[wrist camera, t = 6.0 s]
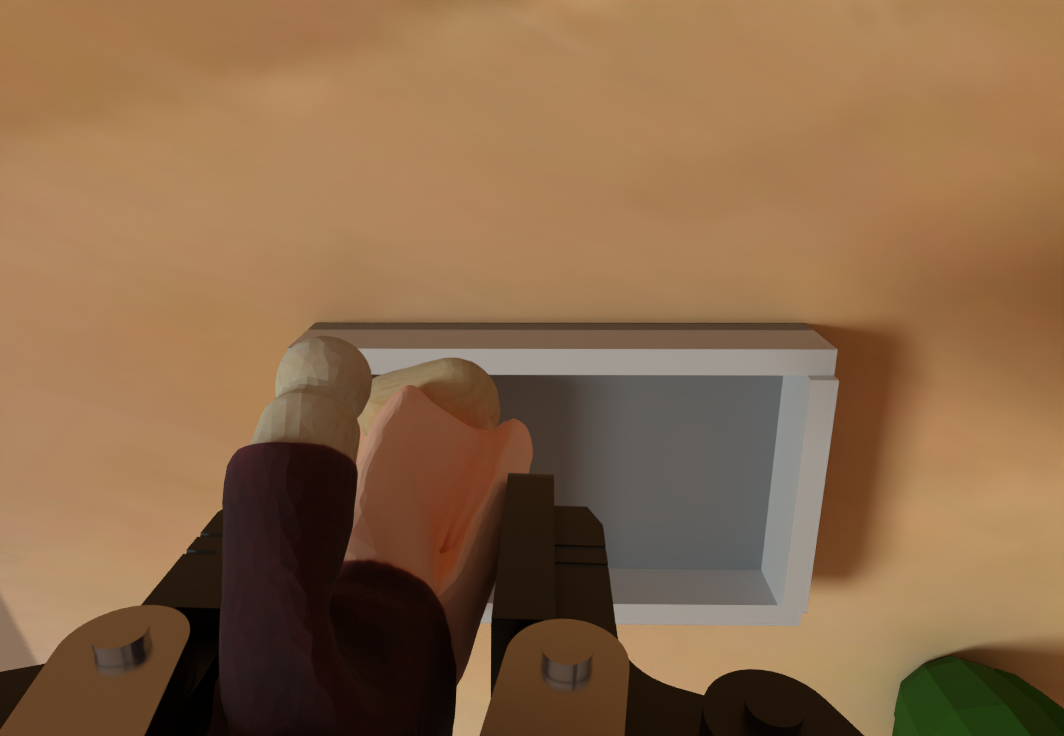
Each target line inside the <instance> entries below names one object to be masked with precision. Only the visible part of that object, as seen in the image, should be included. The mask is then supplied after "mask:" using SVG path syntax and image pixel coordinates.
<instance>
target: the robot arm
mask: <svg viewBox="0 0 1064 736" xmlns="http://www.w3.org/2000/svg"><path fill="white" fill-rule="evenodd" d="M222 542H223V509H222V510H221V511H219V512H217V514H216V515H215V516H214V517H213V518H212V520H211V521H210V522H209V523H208V525H207V526H206V527H205V528H204V529H203V531H202V532H201V536H200V537H197V538H196V539H195V540H194V542H193V543H192V544H191V545H190V546H189V548H188V549H187V553H186V554H183V555H182V556H181V557H180V559H179V560H178V561H177V562H176V563H175V565H174V566H173V567H172V568H171V569H170V571H169V572H168V573H167V574H166V576H165V577H164V578H163V579H162V580H161V582H160V583H159V584H158V585H157V586H156V588H155V589H154V590H153V591H152V592H151V594H150V595H149V596H148V597H147V599H146V600H145V601H144V602H143V603H142V605H141V606H133V607H128V608H123V609H119V610H116V611H112V612H109V613H107V614H104V615H102V616H99V617H97V618H95V619H93V620H91V621H89V622H87V623H85V624H84V625H82V626H80V627H79V628H77V629H76V630H74V631H73V632H72V633H70V634H69V635H68V636H67V637H66V638H65V639H64V640H63V641H62V642H61V643H60V644H59V645H58V647H57V648H56V649H55V651H54V652H53V653H52V655H51V656H50V658H49V659H48V661H47V662H46V663H45V664H41V665H36V666H30V667H25V668H19V669H14V670H8V671H3V672H0V736H207V734H208V730H209V726H210V722H211V718H212V711H213V702H214V700H213V694H214V688H215V683H216V681H217V679H218V677H219V629H220V609H221V600H222V571H223V560H222ZM480 736H864V735H863V734H862V733H861V732H860V731H859V730H857V729H856V728H855V727H854V726H853V725H852V724H851V723H850V722H849V721H848V720H847V719H846V718H845V717H844V716H843V715H841V714H840V713H839V712H838V711H837V710H836V709H835V708H834V707H833V706H832V705H831V704H830V703H829V702H828V701H827V700H826V699H824V698H823V697H822V696H821V695H820V694H818V693H817V692H816V691H815V690H813V689H811V688H810V687H808V686H807V685H805V684H803V683H801V682H799V681H798V680H796V679H793V678H791V677H788V676H786V675H783V674H779V673H775V672H772V671H765V670H754V669H748V670H738V671H734V672H730V673H727V674H725V675H723V676H721V677H719V678H718V679H716V680H715V681H714V682H713V683H712V684H711V685H710V686H709V687H708V689H707V691H706V693H705V695H700V694H697V693H693V692H690V691H686V690H683V689H679V688H676V687H673V686H670V685H667V684H664V683H662V682H660V681H658V680H656V679H654V678H652V677H650V676H649V675H647V674H645V673H644V672H642V671H641V670H640V669H639V668H637V667H636V666H635V665H634V664H633V663H632V662H631V661H630V660H629V658H628V655H627V652H626V650H625V649H624V647H623V645H622V644H621V643H620V642H619V640H618V637H617V630H616V622H615V614H614V606H613V599H612V591H611V583H610V575H609V568H608V560H607V552H606V544H605V537H604V529H603V524H602V523H601V522H600V521H599V520H598V519H597V518H596V516H595V515H594V514H593V513H592V512H591V511H590V509H589V508H588V507H583V506H554V474H531V473H508V478H507V486H506V495H505V504H504V512H503V521H502V530H501V539H500V547H499V556H498V565H497V573H496V582H495V591H494V600H493V608H492V617H491V700H490V704H489V707H488V710H487V713H486V717H485V720H484V723H483V726H482V730H481V733H480Z"/></svg>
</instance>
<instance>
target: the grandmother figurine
mask: <svg viewBox="0 0 1064 736" xmlns="http://www.w3.org/2000/svg"><path fill="white" fill-rule="evenodd" d="M275 393H276V399H275V400H273V401H272V402H271V403H269V404H268V405H267V406H266V408H265V409H264V411H263V413H262V415H261V417H260V420H259V423H258V425H257V428H256V431H255V433H254V436H253V439H252V441H251V443H250V445H248V446H245V447H243V448H241V449H238V450H237V451H236V452H235V454H234V455H233V456H232V458H231V460H230V462H229V463H228V465H227V470H226V476H225V481H224V490H223V501H222V505H223V542H222V560H223V571H222V600H221V609H220V629H219V677H218V679H217V681H216V683H215V688H214V694H213V700H214V702H213V711H212V718H211V722H210V726H209V730H208V734H207V736H452V733H453V724H454V719H455V706H456V686H457V685H458V683H459V681H460V679H461V678H462V676H463V674H464V671H465V669H466V666H467V664H468V661H469V658H470V655H471V651H472V648H473V645H474V641H475V638H476V634H477V631H478V628H479V625H480V622H481V620H482V617H483V614H484V611H485V609H486V606H487V603H488V601H489V598H490V595H491V592H492V590H493V587H494V584H495V582H496V573H497V565H498V556H499V547H500V539H501V530H502V521H503V512H504V504H505V495H506V486H507V478H508V473H529V470H530V464H531V461H532V458H533V447H532V441H531V437H530V434H529V431H528V429H527V427H526V426H525V424H523V423H522V422H521V421H519V420H517V419H514V418H513V419H511V420H509V421H505V422H503V423H502V424H500V425H499V426H498V423H499V417H500V403H499V397H498V391H497V389H496V386H495V384H494V382H493V380H492V378H491V377H490V376H489V375H488V374H487V373H486V371H485V370H483V369H482V368H481V367H480V366H479V365H477V364H475V363H474V362H472V361H468V360H465V359H461V358H442V359H438V360H433V361H429V362H425V363H422V364H418V365H415V366H412V367H408V368H404V369H399V370H395V371H391V372H388V373H385V374H382V375H379V376H377V377H375V378H373V379H372V374H371V369H370V367H369V364H368V362H367V360H366V358H365V357H364V355H363V354H362V353H361V352H360V351H359V350H358V349H357V348H356V347H355V346H354V345H352V344H351V343H349V342H347V341H344V340H342V339H340V338H336V337H332V336H316V337H311V338H308V339H306V340H304V341H301V342H299V343H297V344H295V345H294V346H293V347H292V348H291V349H289V350H288V351H287V352H286V353H285V355H284V357H283V359H282V361H281V363H280V365H279V368H278V372H277V375H276V381H275ZM358 417H359V421H360V425H361V428H362V430H363V432H364V434H365V436H366V439H365V442H364V444H363V447H362V451H361V453H360V455H359V458H358V460H357V455H358V449H359V441H360V433H361V432H360V426H359V423H358V420H357V418H358ZM356 461H357V462H356Z"/></svg>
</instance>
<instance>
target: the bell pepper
mask: <svg viewBox="0 0 1064 736" xmlns="http://www.w3.org/2000/svg"><path fill="white" fill-rule="evenodd" d="M894 716H895V722H894V728H893V734H892V736H1064V709H1063V708H1062V707H1061V706H1059V705H1058V704H1057V703H1055V702H1054V701H1053V700H1051V699H1050V698H1049V697H1047V696H1046V695H1045V694H1043V693H1042V692H1041V691H1039V690H1037V689H1036V688H1034V687H1033V686H1031V685H1030V684H1028V683H1027V682H1025V681H1024V680H1022V679H1021V678H1019V677H1018V676H1016V675H1015V674H1011V673H1008V672H1005V671H1001V670H998V669H995V670H992V669H991V668H990V667H987V666H984V665H980V664H977V663H973V662H970V661H966V660H963V659H959V658H956V657H952V656H948V657H945V658H942V659H938V660H935V661H932V662H929V663H926V664H923V665H922V666H920V667H919V668H918V669H917V670H915V671H914V672H913V673H912V674H910V675H909V676H908V677H907V678H905V679H904V680H903V681H902V682H901V684H900V689H899V693H898V697H897V702H896V707H895V712H894Z"/></svg>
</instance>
